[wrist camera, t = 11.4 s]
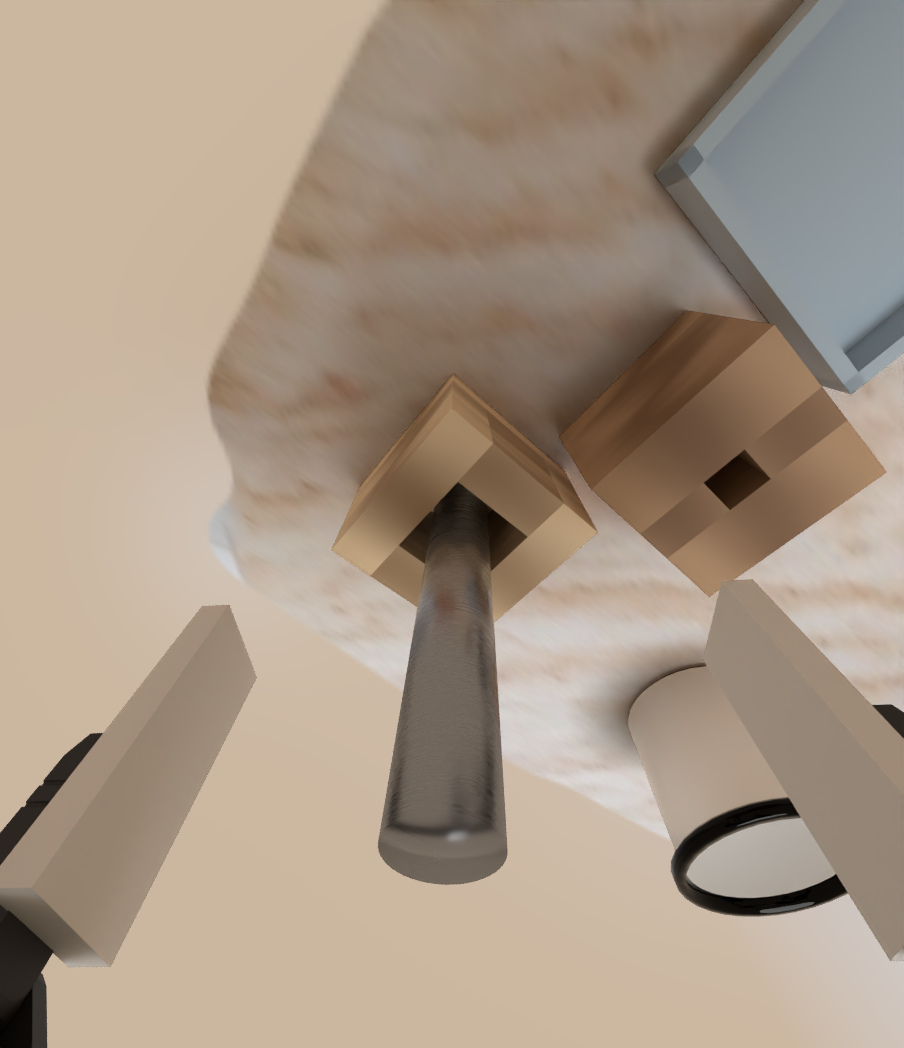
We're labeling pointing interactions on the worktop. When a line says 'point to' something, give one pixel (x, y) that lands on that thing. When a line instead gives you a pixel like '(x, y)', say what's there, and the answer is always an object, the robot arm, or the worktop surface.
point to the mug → (724, 805)
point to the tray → (811, 185)
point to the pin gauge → (449, 714)
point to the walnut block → (719, 447)
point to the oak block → (485, 470)
